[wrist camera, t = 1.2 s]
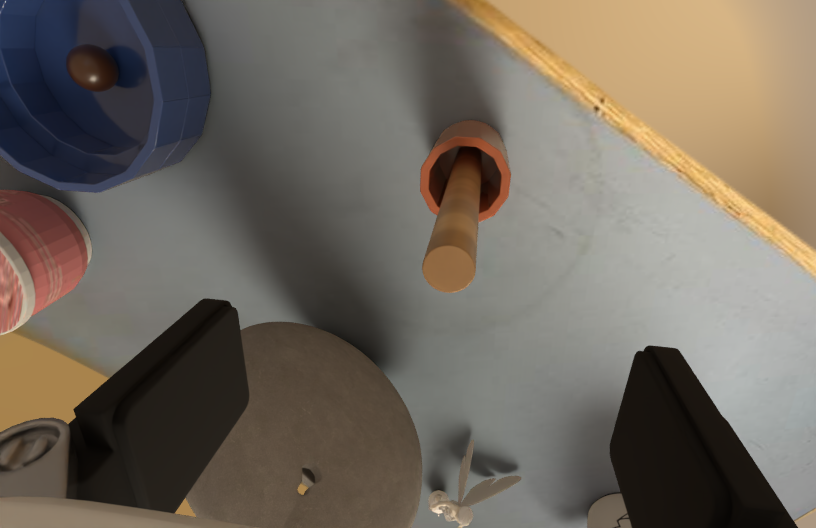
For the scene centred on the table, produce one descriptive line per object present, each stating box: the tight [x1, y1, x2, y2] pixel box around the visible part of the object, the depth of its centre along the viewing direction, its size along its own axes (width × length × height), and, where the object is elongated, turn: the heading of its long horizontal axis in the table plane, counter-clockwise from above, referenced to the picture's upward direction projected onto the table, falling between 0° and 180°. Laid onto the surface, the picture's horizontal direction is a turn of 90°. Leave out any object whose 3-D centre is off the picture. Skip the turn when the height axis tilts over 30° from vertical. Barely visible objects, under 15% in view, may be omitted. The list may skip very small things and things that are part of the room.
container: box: [0, 190, 92, 335], centre depth 37 cm, size 10×10×8 cm
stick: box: [422, 146, 482, 293], centre depth 24 cm, size 2×2×18 cm
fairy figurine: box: [428, 440, 521, 528], centre depth 44 cm, size 6×7×7 cm
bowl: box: [0, 0, 211, 193], centre depth 31 cm, size 15×15×6 cm
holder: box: [420, 120, 511, 223], centre depth 29 cm, size 5×5×7 cm
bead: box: [66, 44, 119, 92], centre depth 32 cm, size 3×3×3 cm
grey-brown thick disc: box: [186, 322, 422, 528], centre depth 33 cm, size 18×7×19 cm, turn 51°
